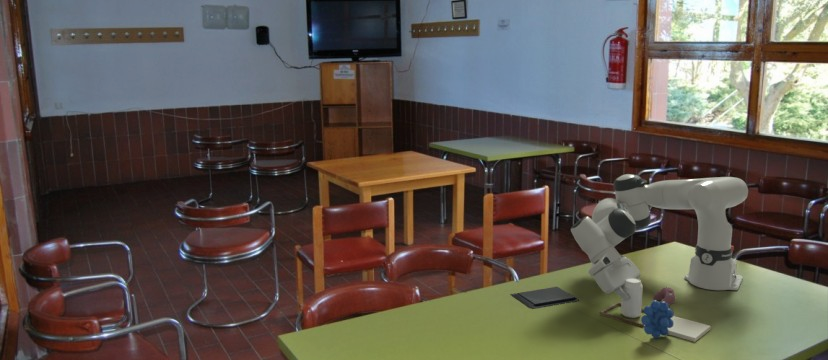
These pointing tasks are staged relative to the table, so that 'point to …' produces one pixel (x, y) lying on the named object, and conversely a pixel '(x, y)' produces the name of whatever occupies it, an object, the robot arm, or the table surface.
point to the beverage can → (632, 298)
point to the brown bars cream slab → (679, 329)
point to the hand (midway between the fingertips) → (633, 296)
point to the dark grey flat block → (544, 297)
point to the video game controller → (665, 295)
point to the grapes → (657, 319)
